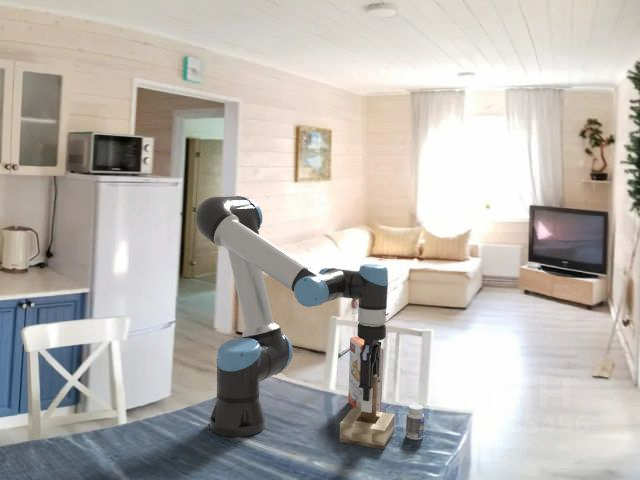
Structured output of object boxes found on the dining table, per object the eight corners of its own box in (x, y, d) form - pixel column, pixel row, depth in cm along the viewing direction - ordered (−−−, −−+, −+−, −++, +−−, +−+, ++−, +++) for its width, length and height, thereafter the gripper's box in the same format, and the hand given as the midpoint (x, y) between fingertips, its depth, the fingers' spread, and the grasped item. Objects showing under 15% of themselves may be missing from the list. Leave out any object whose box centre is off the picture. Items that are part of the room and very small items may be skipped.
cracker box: (346, 402, 185) (349, 336, 183) (364, 400, 187) (367, 335, 185) (362, 419, 172) (365, 349, 170) (381, 418, 173) (384, 348, 171)
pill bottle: (422, 441, 159) (424, 410, 158) (405, 439, 160) (406, 408, 159) (423, 433, 163) (425, 404, 163) (406, 431, 164) (407, 402, 163)
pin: (359, 420, 159) (360, 376, 158) (363, 415, 162) (364, 372, 161) (373, 422, 157) (375, 378, 156) (377, 417, 161) (379, 374, 160)
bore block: (339, 441, 157) (340, 423, 156) (352, 424, 168) (353, 407, 168) (383, 449, 153) (384, 430, 152) (394, 431, 164) (394, 414, 164)
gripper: (377, 331, 148) (374, 422, 150) (392, 318, 164) (389, 400, 166) (349, 328, 151) (346, 417, 153) (366, 315, 167) (363, 396, 169)
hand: (368, 408), depth 160 cm, fingers closed on pin, 4 cm apart
